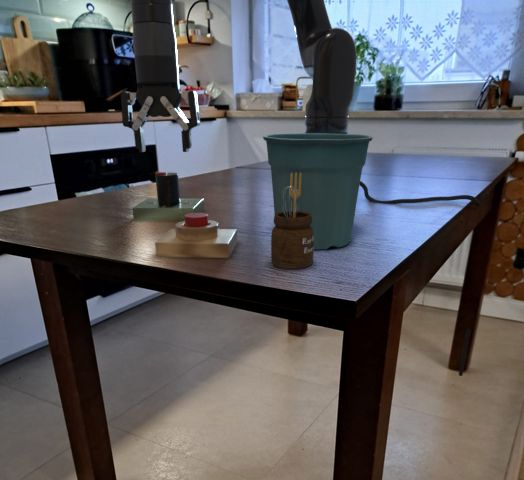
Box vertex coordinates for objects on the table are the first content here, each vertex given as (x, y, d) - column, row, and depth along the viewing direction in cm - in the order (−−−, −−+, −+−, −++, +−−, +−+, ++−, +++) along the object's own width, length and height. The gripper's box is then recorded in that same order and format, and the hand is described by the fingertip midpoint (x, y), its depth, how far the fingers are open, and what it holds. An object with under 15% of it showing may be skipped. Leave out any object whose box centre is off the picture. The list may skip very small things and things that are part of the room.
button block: (237, 242, 85) (236, 217, 83) (228, 258, 76) (227, 231, 75) (171, 241, 86) (169, 217, 84) (156, 257, 77) (153, 230, 76)
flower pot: (315, 225, 95) (318, 130, 88) (385, 242, 84) (396, 134, 76) (243, 240, 86) (241, 135, 79) (311, 261, 74) (315, 141, 67)
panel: (204, 210, 108) (203, 197, 107) (194, 221, 99) (193, 207, 98) (148, 210, 109) (147, 197, 108) (133, 220, 100) (131, 206, 99)
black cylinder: (182, 200, 105) (180, 170, 102) (177, 204, 101) (174, 173, 98) (161, 200, 105) (158, 170, 103) (155, 204, 101) (152, 173, 99)
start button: (210, 224, 81) (210, 212, 80) (206, 229, 78) (205, 217, 77) (188, 223, 81) (187, 212, 80) (182, 229, 78) (181, 217, 77)
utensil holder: (268, 269, 71) (267, 179, 66) (274, 257, 77) (274, 172, 71) (311, 271, 70) (314, 179, 65) (314, 258, 76) (317, 172, 70)
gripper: (199, 55, 95) (204, 150, 102) (124, 56, 96) (134, 149, 103) (190, 52, 88) (196, 153, 95) (109, 53, 89) (121, 153, 96)
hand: (163, 151), depth 99 cm, fingers open, 8 cm apart
